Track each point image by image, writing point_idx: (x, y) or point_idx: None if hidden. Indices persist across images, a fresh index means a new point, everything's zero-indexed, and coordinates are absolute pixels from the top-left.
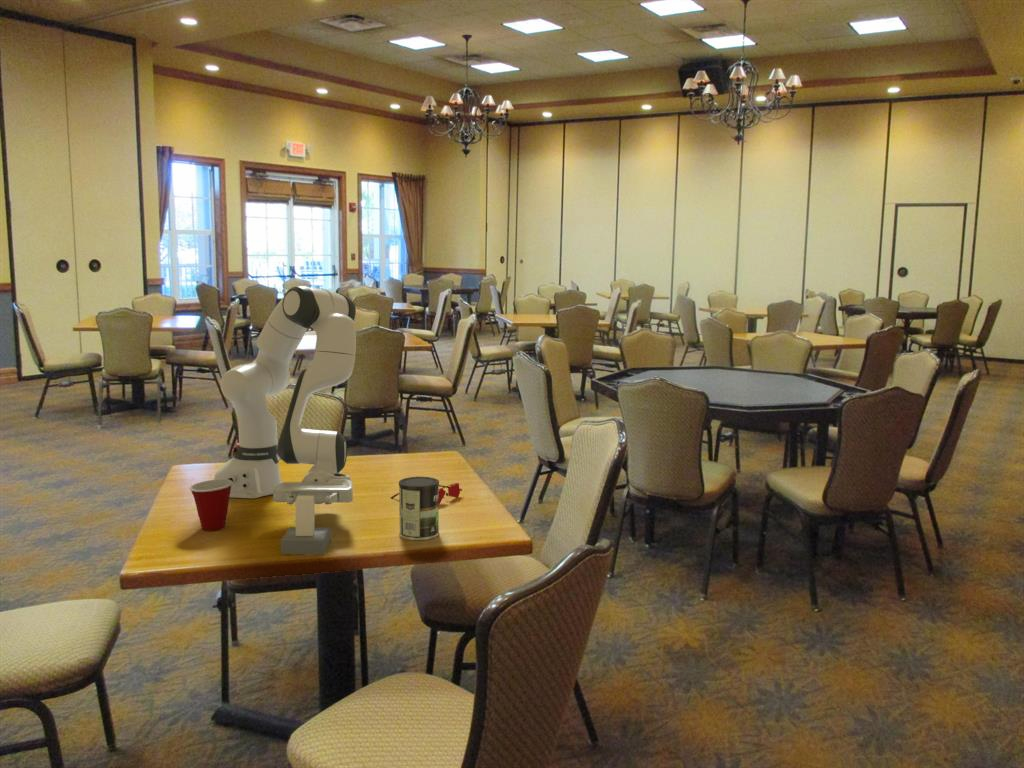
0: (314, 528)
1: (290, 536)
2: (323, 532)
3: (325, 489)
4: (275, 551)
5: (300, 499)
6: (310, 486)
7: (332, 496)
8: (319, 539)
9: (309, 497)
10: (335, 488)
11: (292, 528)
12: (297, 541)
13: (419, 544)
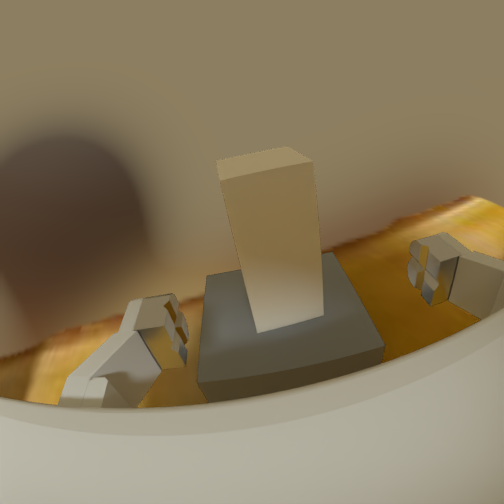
0: (255, 324)
1: (322, 276)
2: (217, 329)
3: (160, 410)
4: (363, 299)
5: (268, 151)
6: (477, 475)
7: (116, 338)
8: (218, 279)
9: (237, 165)
10: (44, 427)
11: (366, 335)
12: None
13: (6, 382)
